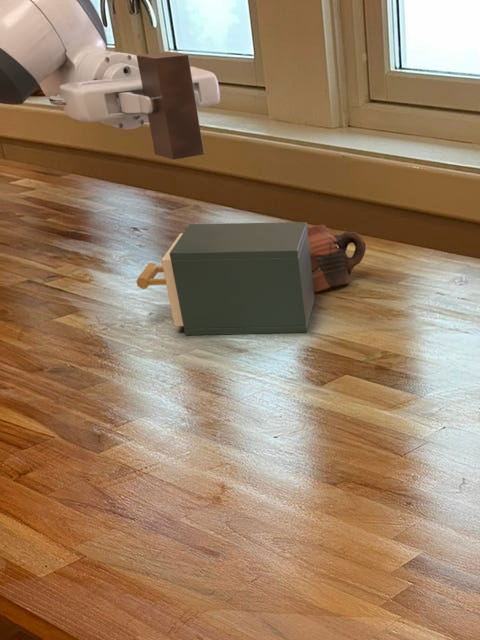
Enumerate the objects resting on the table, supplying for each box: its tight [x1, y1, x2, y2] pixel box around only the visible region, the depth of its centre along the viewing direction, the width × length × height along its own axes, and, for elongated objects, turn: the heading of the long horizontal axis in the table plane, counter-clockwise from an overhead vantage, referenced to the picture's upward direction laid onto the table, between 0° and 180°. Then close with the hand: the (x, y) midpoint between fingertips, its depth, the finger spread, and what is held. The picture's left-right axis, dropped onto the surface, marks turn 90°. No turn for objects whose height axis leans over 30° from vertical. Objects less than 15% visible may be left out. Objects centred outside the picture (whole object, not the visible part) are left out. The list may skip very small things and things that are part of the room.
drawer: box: [136, 232, 184, 327], centre depth 118 cm, size 18×11×8 cm, turn 93°
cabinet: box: [169, 221, 316, 336], centre depth 119 cm, size 15×13×10 cm
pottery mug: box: [307, 224, 367, 293], centre depth 132 cm, size 12×10×8 cm
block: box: [136, 51, 205, 160], centre depth 120 cm, size 4×4×11 cm
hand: (174, 102), depth 119 cm, fingers closed on block, 4 cm apart
